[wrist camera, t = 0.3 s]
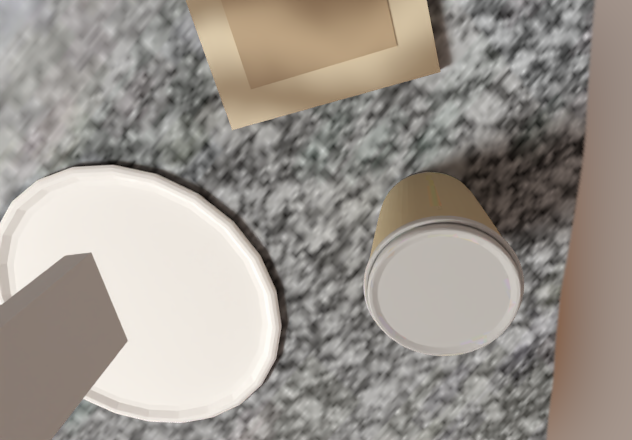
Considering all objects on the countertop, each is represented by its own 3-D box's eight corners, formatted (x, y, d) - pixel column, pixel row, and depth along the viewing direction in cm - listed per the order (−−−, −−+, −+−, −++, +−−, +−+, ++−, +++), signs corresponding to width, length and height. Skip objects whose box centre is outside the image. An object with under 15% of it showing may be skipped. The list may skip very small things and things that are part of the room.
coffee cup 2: (450, 283, 41) (472, 382, 30) (351, 239, 41) (338, 323, 30) (511, 191, 37) (562, 267, 26) (402, 141, 37) (407, 196, 26)
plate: (108, 89, 39) (100, 92, 38) (346, 327, 45) (345, 336, 44) (-51, 282, 50) (-61, 288, 48) (159, 453, 56) (154, 462, 55)
